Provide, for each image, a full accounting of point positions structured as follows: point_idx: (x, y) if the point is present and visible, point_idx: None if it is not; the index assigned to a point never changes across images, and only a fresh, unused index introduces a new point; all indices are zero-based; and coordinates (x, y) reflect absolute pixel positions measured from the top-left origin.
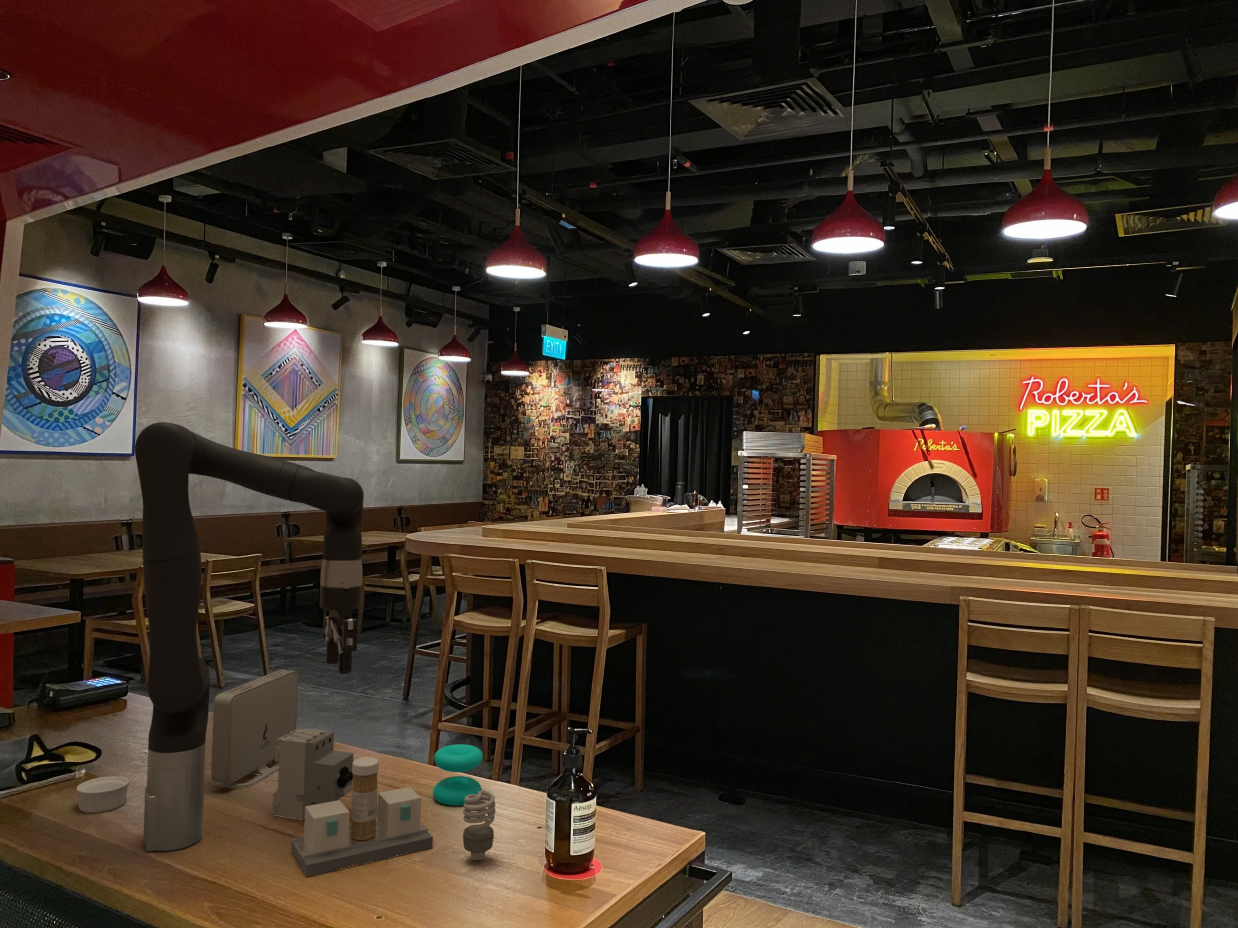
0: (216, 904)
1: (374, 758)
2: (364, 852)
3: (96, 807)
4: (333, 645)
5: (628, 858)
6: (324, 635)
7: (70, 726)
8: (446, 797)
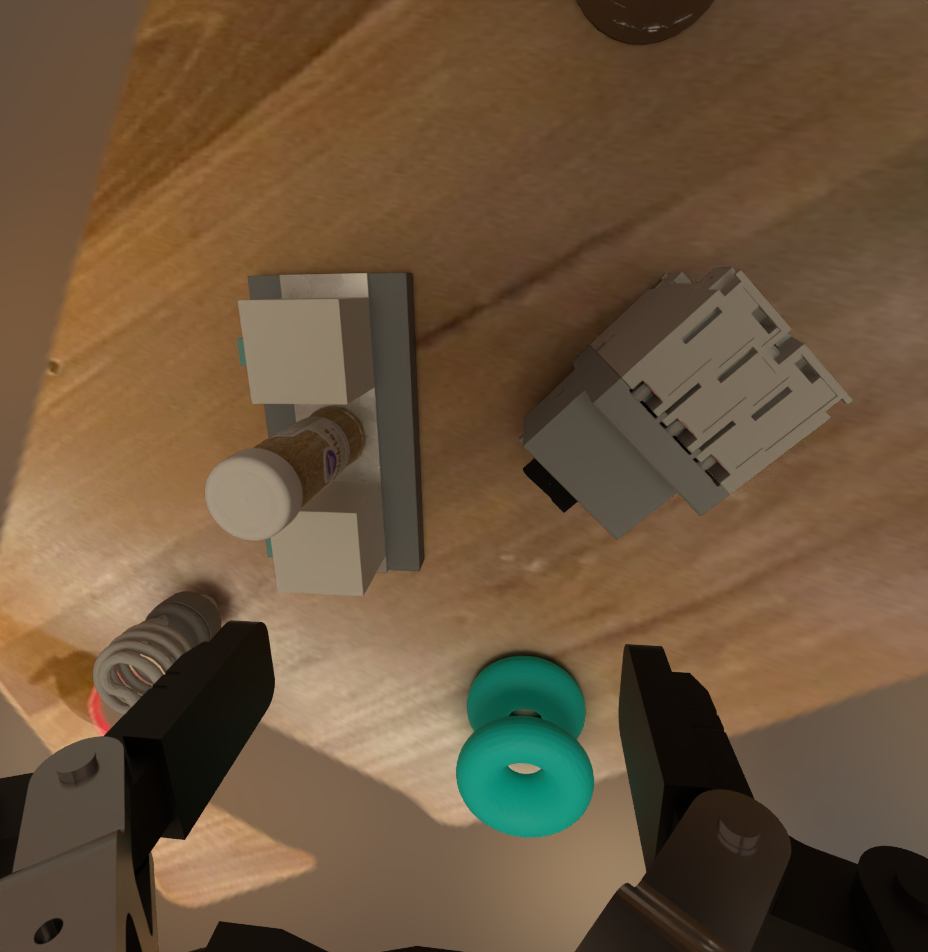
0: (201, 44)
1: (260, 534)
2: (266, 414)
3: None
4: (655, 831)
5: None
6: (877, 902)
7: None
8: (487, 672)
